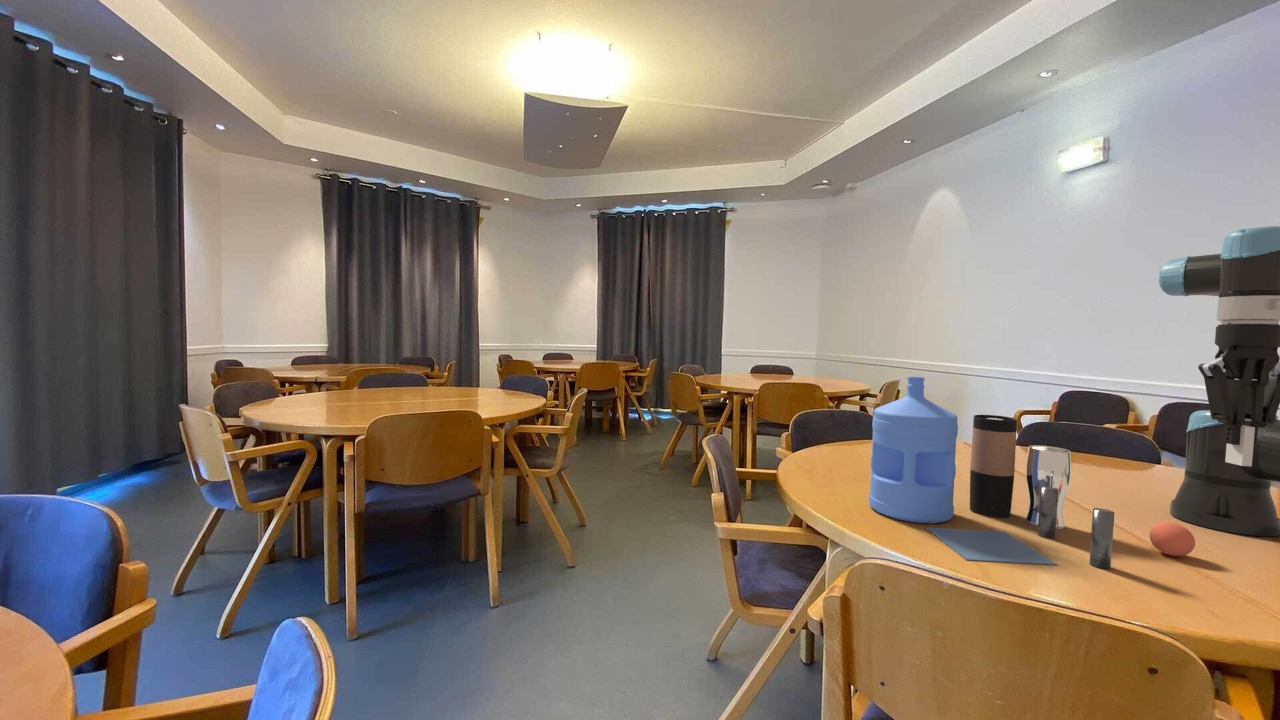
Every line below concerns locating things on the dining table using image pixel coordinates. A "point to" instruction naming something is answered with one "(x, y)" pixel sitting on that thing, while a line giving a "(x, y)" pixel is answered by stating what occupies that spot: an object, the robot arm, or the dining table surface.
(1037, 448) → the beer glass
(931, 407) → the water jug
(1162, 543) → the ball
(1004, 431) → the travel mug
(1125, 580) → the dining table surface
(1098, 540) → the post
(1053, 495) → the post
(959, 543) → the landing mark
